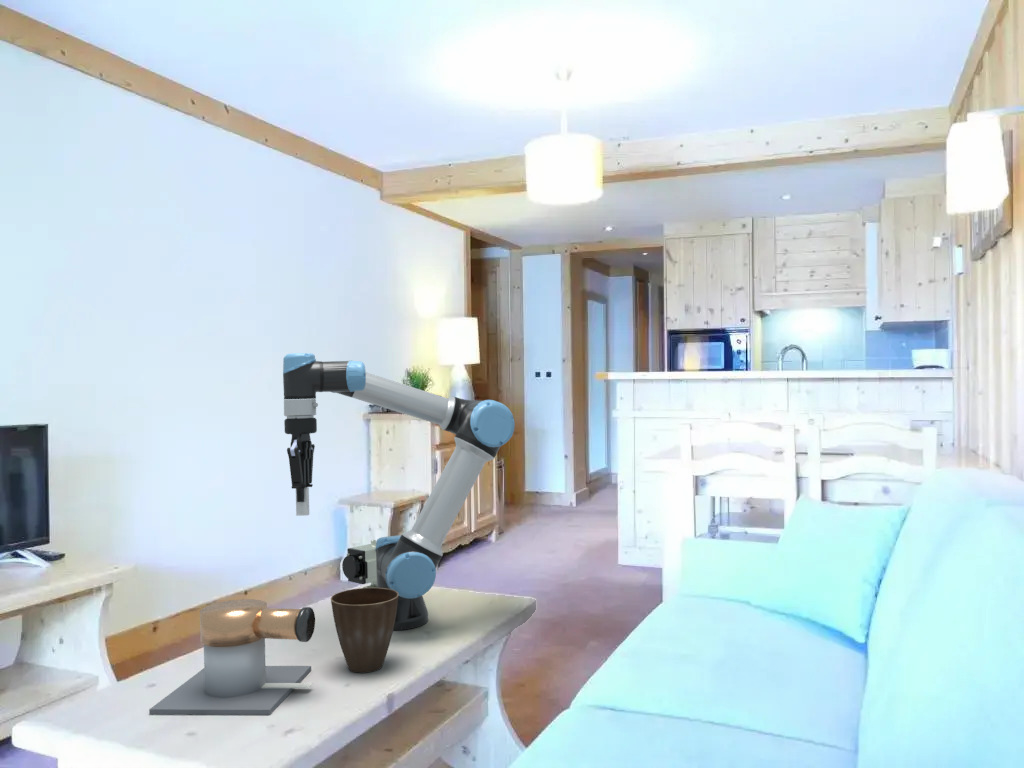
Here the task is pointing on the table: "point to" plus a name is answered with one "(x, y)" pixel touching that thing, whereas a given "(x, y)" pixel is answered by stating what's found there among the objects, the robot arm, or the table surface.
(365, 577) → the ball valve
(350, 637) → the plant pot
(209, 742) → the table surface
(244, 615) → the copper flat bottle shape
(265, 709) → the duct stub
